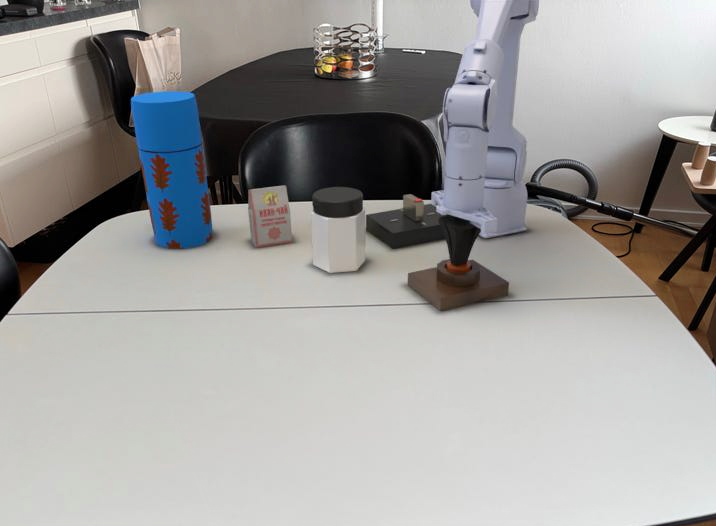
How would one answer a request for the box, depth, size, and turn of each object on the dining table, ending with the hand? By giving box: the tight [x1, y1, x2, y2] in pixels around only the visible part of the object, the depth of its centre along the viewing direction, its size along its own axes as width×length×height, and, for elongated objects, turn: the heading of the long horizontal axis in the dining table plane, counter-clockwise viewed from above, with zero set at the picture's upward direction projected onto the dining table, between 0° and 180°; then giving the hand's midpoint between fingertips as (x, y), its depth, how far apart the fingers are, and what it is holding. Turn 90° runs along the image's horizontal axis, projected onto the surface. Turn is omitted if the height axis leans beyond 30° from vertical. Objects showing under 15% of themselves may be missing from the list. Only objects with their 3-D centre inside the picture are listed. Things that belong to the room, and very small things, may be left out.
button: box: [447, 260, 471, 272], centre depth 104 cm, size 4×4×2 cm
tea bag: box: [247, 185, 293, 248], centre depth 123 cm, size 4×7×10 cm, turn 111°
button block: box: [407, 258, 510, 312], centre depth 105 cm, size 12×10×4 cm
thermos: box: [130, 90, 214, 250], centre depth 121 cm, size 11×11×25 cm
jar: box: [310, 186, 366, 274], centre depth 113 cm, size 9×8×12 cm
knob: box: [402, 193, 425, 222], centre depth 125 cm, size 5×2×4 cm, turn 24°
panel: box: [365, 203, 446, 250], centre depth 127 cm, size 14×11×3 cm
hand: (458, 263), depth 104 cm, fingers closed, pressing on button
